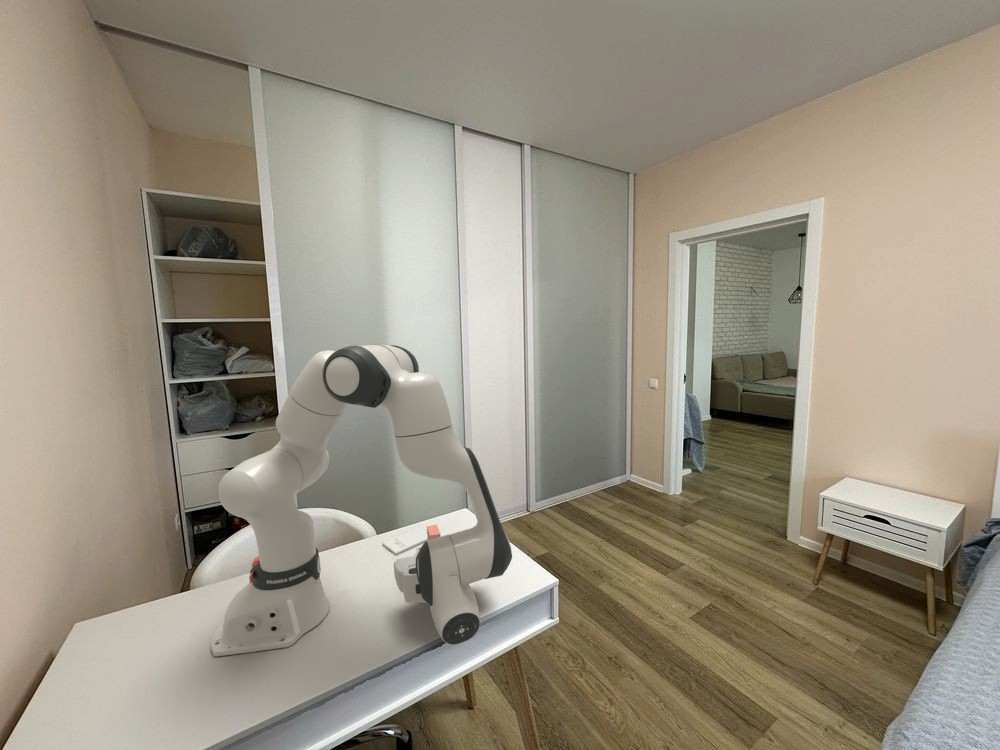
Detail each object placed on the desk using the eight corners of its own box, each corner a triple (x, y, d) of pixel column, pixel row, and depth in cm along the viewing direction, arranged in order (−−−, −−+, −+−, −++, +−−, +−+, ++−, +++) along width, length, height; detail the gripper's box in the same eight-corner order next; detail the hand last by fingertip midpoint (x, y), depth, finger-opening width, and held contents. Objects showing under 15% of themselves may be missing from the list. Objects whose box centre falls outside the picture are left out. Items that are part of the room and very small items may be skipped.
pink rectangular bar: (433, 590, 96) (429, 535, 95) (430, 578, 101) (426, 526, 100) (443, 588, 97) (440, 533, 96) (439, 576, 102) (436, 524, 100)
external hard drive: (432, 541, 122) (395, 557, 113) (418, 531, 128) (382, 547, 119) (432, 535, 122) (395, 552, 113) (418, 526, 128) (381, 542, 119)
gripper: (490, 555, 89) (474, 527, 102) (395, 576, 83) (391, 543, 96) (491, 581, 90) (475, 550, 103) (397, 604, 83) (393, 568, 96)
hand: (434, 547), depth 99 cm, fingers open, 6 cm apart
